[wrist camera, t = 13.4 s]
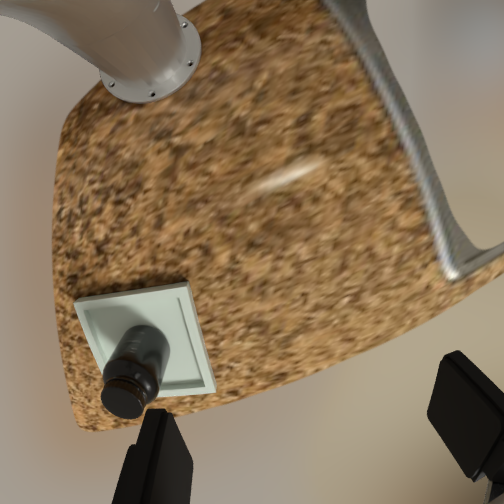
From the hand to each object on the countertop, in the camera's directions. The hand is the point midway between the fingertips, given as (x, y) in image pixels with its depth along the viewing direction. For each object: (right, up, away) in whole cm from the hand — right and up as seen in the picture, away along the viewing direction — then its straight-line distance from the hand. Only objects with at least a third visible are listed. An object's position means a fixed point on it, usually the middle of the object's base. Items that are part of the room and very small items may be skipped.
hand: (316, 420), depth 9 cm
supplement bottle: (-16, -7, +29) cm, 34 cm away
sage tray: (-16, -7, +30) cm, 35 cm away
